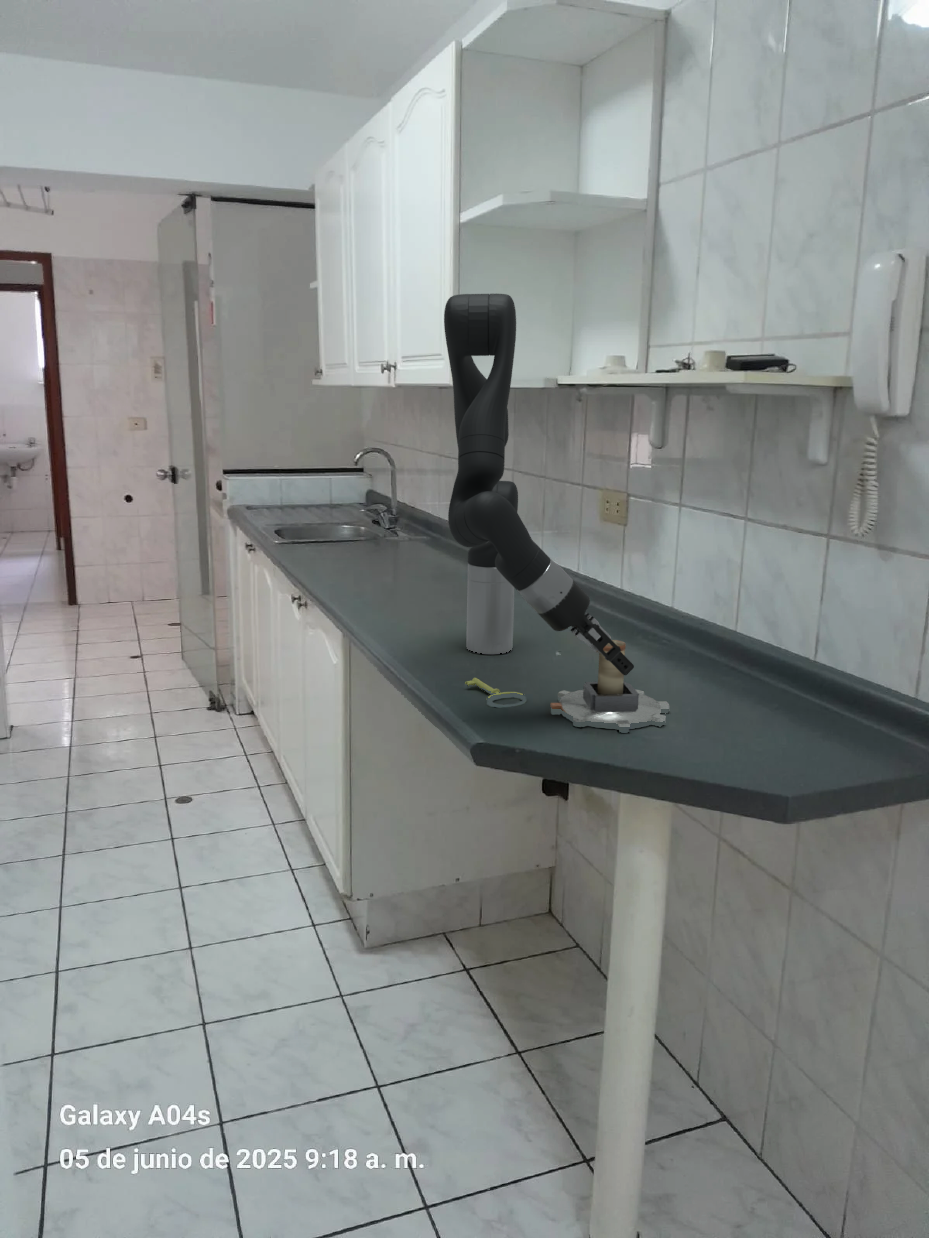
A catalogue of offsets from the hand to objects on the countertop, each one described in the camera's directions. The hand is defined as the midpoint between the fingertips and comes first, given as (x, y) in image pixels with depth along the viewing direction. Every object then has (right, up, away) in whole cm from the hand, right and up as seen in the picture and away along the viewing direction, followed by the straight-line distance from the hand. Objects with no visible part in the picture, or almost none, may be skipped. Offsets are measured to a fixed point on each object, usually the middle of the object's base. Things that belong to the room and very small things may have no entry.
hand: (620, 663), depth 150 cm
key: (-20, -7, +9) cm, 22 cm away
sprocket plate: (-1, -8, +2) cm, 8 cm away
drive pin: (-2, -7, +1) cm, 7 cm away
